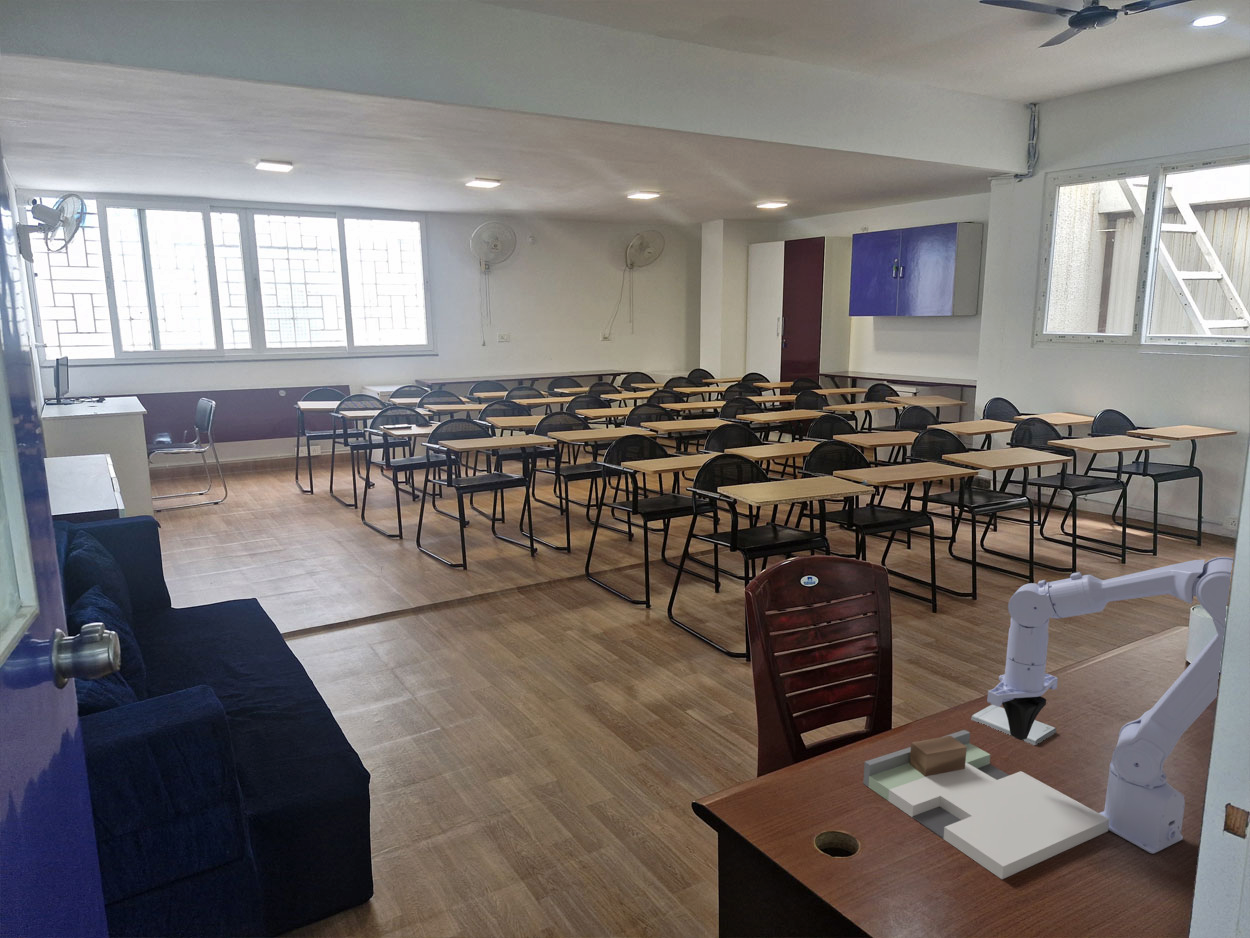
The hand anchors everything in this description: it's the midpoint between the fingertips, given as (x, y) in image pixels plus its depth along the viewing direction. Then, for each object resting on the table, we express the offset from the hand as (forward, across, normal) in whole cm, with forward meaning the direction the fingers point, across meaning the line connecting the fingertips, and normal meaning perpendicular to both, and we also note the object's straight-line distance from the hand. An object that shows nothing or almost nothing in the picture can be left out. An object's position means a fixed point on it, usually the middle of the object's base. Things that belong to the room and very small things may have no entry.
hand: (1018, 736), depth 131 cm
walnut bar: (+7, +8, -8) cm, 14 cm away
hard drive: (+10, -19, -15) cm, 26 cm away
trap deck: (+9, +9, +1) cm, 13 cm away
